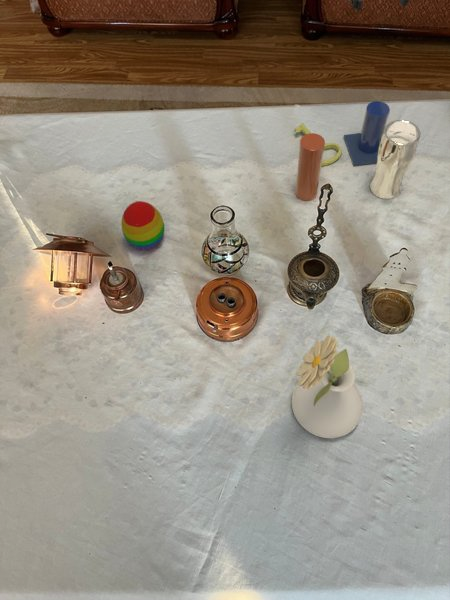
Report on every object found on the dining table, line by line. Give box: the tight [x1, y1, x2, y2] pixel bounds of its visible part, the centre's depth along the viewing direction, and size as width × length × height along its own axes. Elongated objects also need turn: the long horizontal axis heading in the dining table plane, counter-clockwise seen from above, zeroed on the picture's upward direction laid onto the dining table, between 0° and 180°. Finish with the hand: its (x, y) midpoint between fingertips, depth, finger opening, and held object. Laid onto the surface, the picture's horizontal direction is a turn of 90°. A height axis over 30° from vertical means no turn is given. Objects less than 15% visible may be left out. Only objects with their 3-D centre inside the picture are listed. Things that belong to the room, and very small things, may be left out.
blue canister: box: [358, 100, 391, 154], centre depth 110 cm, size 5×5×10 cm
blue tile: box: [343, 132, 377, 167], centre depth 115 cm, size 9×9×1 cm
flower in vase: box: [291, 334, 364, 439], centre depth 75 cm, size 13×11×25 cm
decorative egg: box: [121, 200, 165, 251], centre depth 102 cm, size 8×8×10 cm
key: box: [293, 123, 343, 167], centre depth 115 cm, size 7×12×2 cm, turn 49°
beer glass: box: [369, 119, 421, 200], centre depth 103 cm, size 7×7×15 cm
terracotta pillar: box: [294, 132, 326, 202], centre depth 104 cm, size 5×5×14 cm
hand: (382, 4), depth 97 cm, fingers open, 8 cm apart
